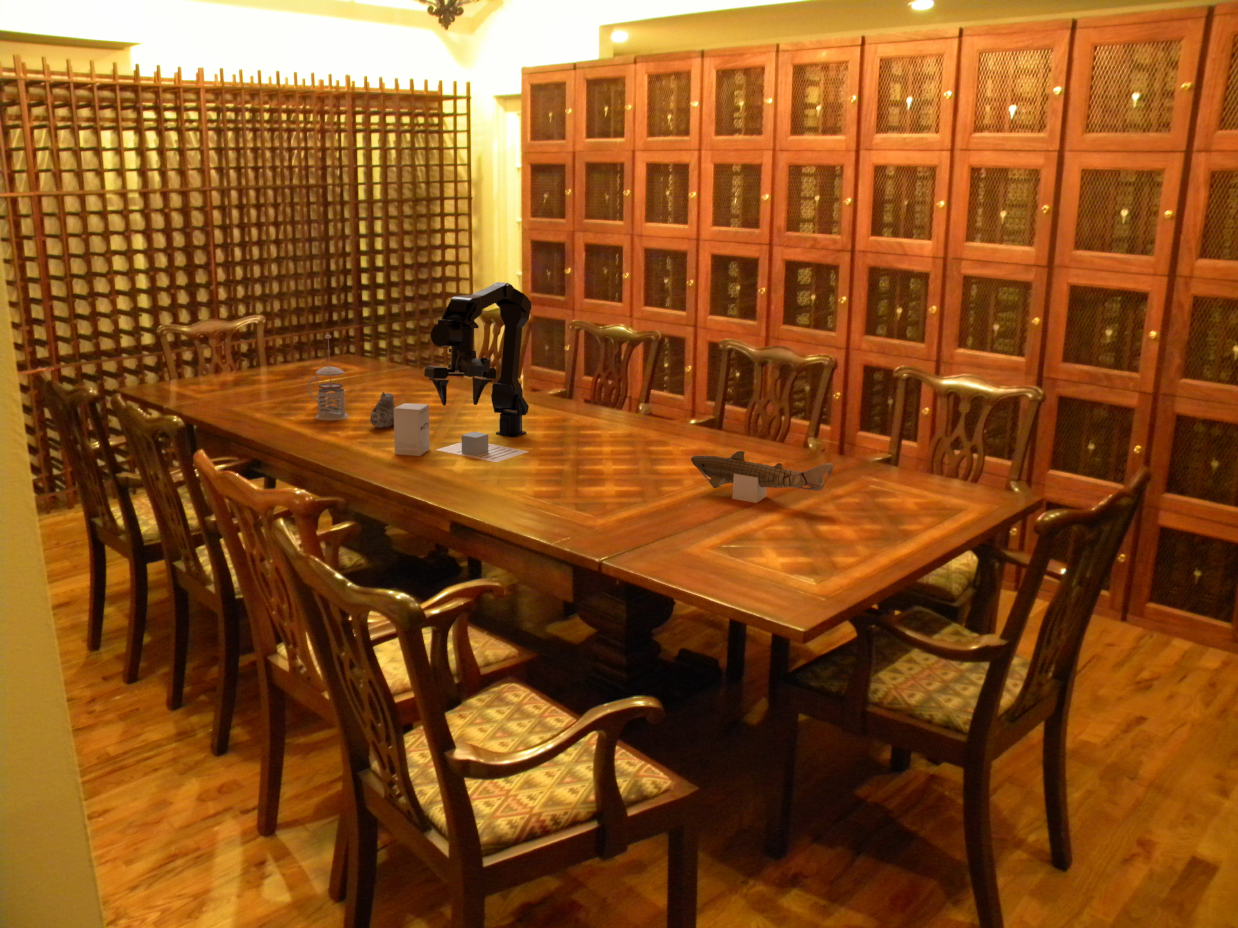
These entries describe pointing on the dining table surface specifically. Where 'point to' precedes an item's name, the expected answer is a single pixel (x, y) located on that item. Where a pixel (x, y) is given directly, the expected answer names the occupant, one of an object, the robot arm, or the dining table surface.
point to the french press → (330, 394)
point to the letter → (493, 455)
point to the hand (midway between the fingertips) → (459, 405)
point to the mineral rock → (383, 411)
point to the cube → (475, 443)
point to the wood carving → (756, 476)
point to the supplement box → (411, 429)
